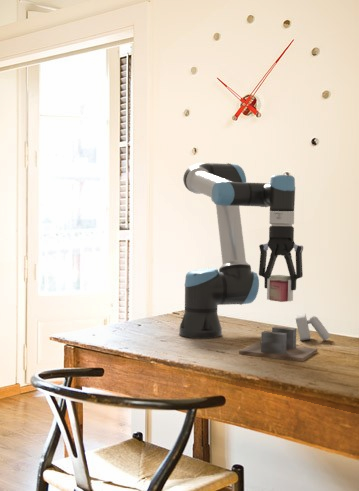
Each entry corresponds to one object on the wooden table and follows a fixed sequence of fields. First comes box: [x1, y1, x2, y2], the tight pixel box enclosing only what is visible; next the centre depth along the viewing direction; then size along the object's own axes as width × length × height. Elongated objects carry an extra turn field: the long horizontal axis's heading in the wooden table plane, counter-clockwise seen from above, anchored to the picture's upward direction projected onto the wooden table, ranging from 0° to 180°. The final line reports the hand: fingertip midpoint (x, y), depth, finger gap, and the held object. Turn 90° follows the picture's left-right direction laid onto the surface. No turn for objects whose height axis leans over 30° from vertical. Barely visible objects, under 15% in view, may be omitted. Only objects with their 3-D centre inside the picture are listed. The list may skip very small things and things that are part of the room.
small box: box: [269, 274, 291, 303], centre depth 198 cm, size 5×4×8 cm
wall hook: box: [295, 313, 332, 342], centre depth 221 cm, size 8×10×10 cm
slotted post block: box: [238, 326, 318, 363], centre depth 199 cm, size 20×16×7 cm
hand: (279, 299), depth 198 cm, fingers closed on small box, 6 cm apart
